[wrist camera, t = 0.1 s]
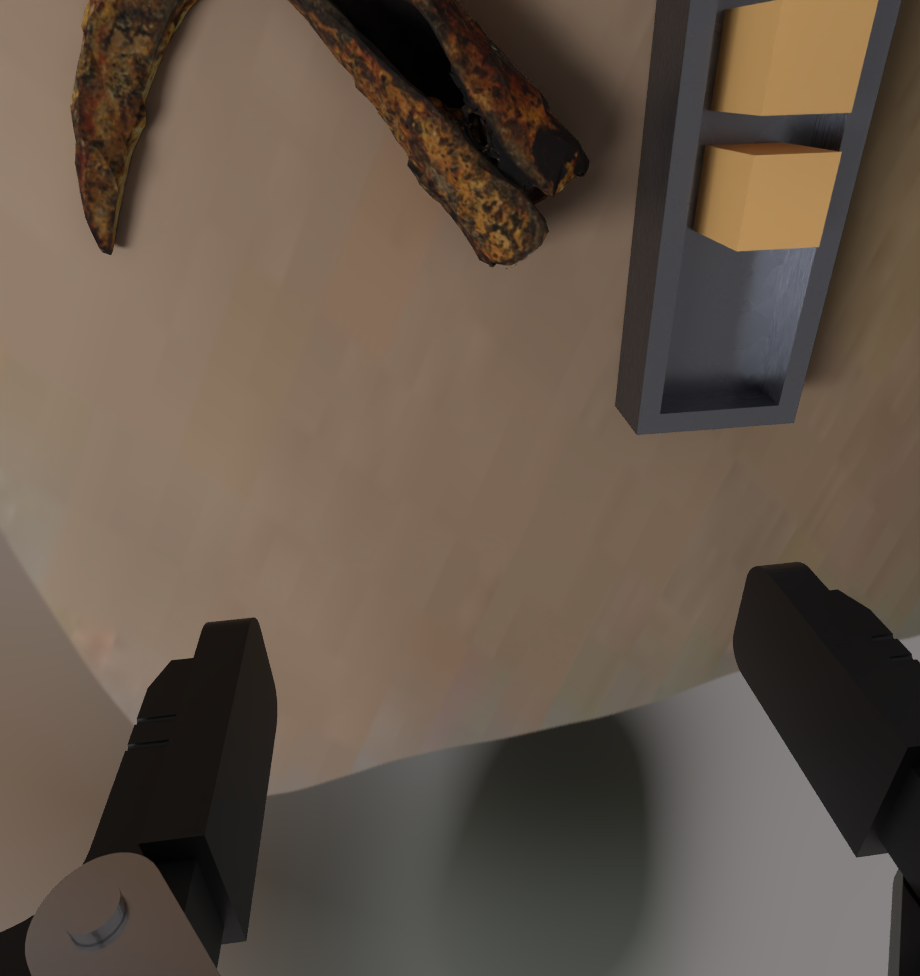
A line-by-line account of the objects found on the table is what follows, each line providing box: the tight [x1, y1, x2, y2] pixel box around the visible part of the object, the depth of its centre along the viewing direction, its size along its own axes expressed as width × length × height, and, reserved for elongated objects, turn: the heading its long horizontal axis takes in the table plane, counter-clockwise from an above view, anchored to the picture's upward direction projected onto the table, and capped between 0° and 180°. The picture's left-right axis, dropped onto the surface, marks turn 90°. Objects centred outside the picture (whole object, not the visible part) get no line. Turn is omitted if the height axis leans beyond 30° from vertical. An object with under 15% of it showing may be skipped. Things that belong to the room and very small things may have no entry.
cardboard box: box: [711, 0, 878, 116], centre depth 30 cm, size 4×4×5 cm
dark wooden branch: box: [70, 0, 589, 269], centre depth 29 cm, size 23×6×30 cm
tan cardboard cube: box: [693, 142, 842, 251], centre depth 33 cm, size 4×4×5 cm
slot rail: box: [615, 0, 902, 435], centre depth 35 cm, size 23×9×4 cm, turn 1°
